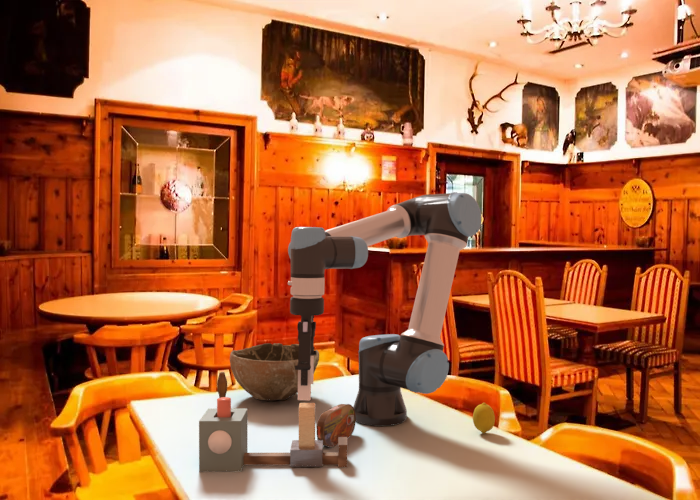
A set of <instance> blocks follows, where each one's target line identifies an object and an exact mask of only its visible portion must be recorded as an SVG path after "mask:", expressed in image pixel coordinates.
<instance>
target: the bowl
mask: <svg viewBox="0 0 700 500" xmlns="http://www.w3.org/2000/svg"><path fill="white" fill-rule="evenodd" d="M314 350H315V351H317V353H316V355H311V356H314V373H315V371H316V369H317V366H318V363H319V361H320V352H319V351H318V350H317V349H314ZM298 353H299V343H294V344H293V343H292V344H290V345H288V344H285V345H283V343H273V344H272V343H271V342H270V343H269V342H268V343H267V342H266V343H262V344H257V345H253V346H251V347H246V348H244V349H237V350H232V351H231V352H230V354H229V363H230V370H231V372H232V375H233V377H234V379H235V380H236V381H237V383H238V385H239V386H240V387H241V388H242V389H243V390H244V391H245V392H246V393H248V394H249V395H250V396H251V397H253V398H254V399H256V400H259V401H265V402H266V401H268V402H269V401H272V402H273V401H278V400H279V401H285V400H287V399H289V398H292V397H293V396H295V395H297V394H298V370H295V366H297V365H298ZM236 381H235V382H236Z"/></svg>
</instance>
